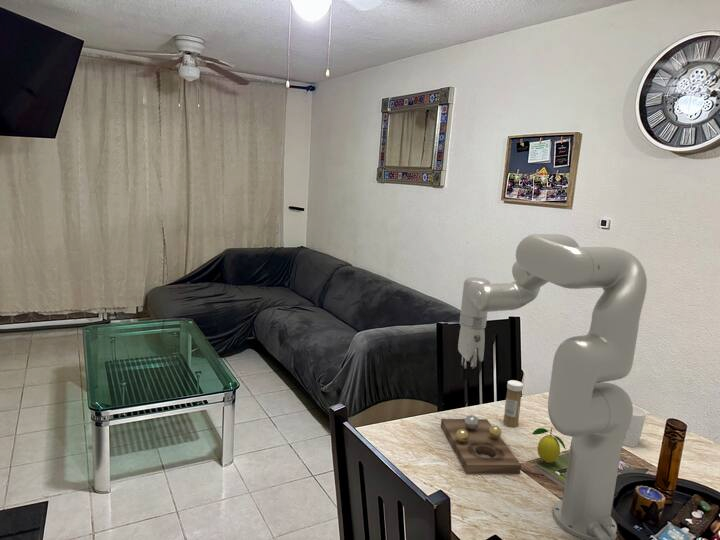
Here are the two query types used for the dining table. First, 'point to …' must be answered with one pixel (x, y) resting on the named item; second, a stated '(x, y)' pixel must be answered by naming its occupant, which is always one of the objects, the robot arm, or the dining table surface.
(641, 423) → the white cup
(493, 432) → the brass ball
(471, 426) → the steel ball
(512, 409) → the sprinkles bottle
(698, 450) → the dining table surface
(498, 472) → the plate
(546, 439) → the lemon
